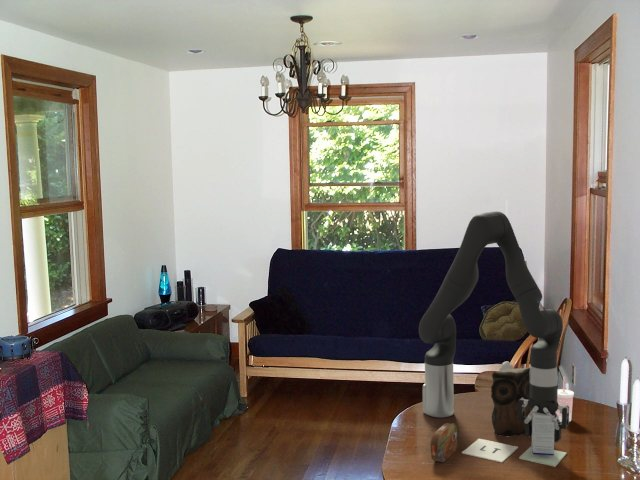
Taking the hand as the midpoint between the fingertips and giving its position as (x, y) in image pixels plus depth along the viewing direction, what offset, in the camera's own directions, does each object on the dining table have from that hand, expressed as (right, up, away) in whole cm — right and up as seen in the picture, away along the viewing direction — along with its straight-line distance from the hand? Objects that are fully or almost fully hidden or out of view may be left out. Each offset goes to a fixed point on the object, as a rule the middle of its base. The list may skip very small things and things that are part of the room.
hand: (542, 438), depth 205 cm
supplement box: (0, -4, 0) cm, 4 cm away
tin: (-27, -6, +3) cm, 28 cm away
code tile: (-13, -5, +5) cm, 15 cm away
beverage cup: (+15, -2, +28) cm, 32 cm away
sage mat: (0, -5, +1) cm, 5 cm away
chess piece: (+2, 0, +44) cm, 44 cm away
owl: (-3, -3, +21) cm, 22 cm away
